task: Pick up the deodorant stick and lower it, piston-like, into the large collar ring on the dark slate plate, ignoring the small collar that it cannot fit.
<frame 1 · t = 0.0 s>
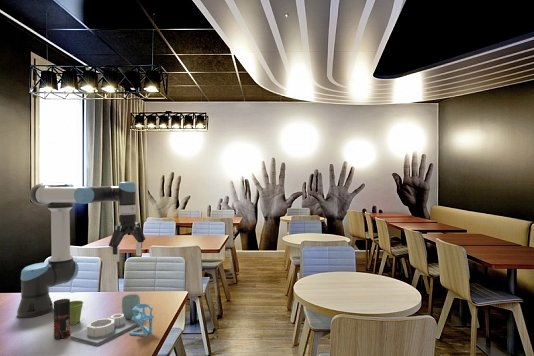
hand: (128, 258, 170), 28 cm above the table, fingers open, 13 cm apart
deodorant: (62, 337, 148), on the table
chair: (142, 333, 151), on the table
plant pot: (72, 323, 164), on the table
bore plate: (101, 334, 151), on the table
cup: (131, 318, 168), on the table
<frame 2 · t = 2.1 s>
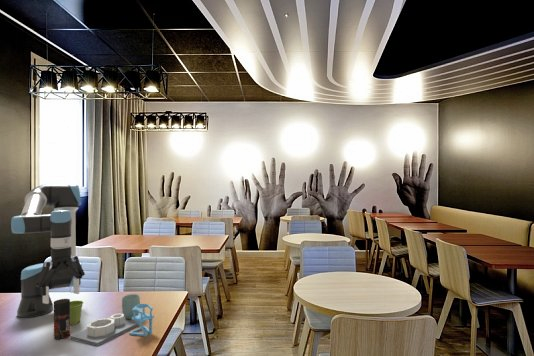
hand: (61, 298, 148), 16 cm above the table, fingers open, 13 cm apart
nothing on the table moved.
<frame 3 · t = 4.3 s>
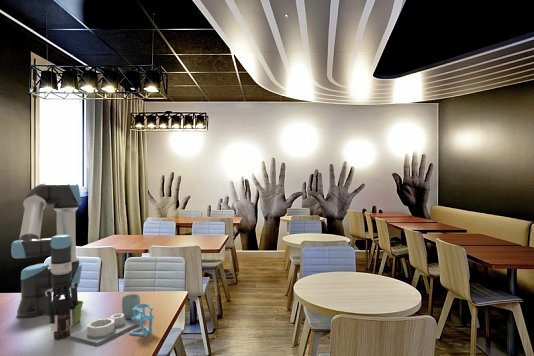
hand: (62, 327, 148), 4 cm above the table, fingers closed on deodorant, 6 cm apart
deodorant: (62, 337, 148), on the table, touching gripper
everything else where it was.
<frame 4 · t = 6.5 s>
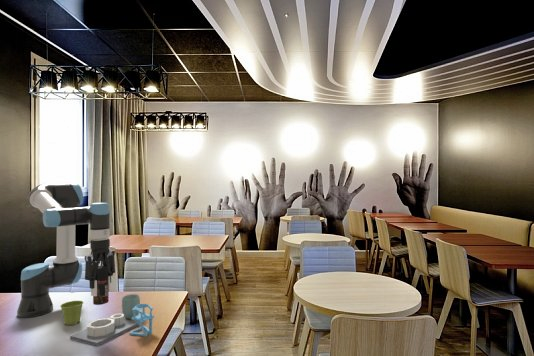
hand: (100, 293, 151), 17 cm above the table, fingers closed on deodorant, 6 cm apart
deodorant: (100, 302, 151), point 13 cm above the table, touching gripper
everything else where it was.
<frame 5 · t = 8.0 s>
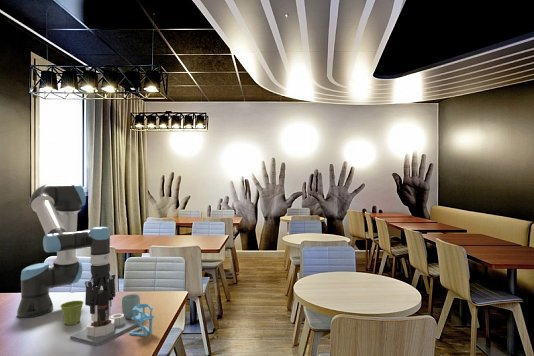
hand: (101, 317, 151), 7 cm above the table, fingers closed on deodorant, 6 cm apart
deodorant: (101, 327, 151), point 3 cm above the table, touching gripper
everything else where it was.
when the fingers open (7 cm above the table, at t = 8.7 s): deodorant drops 1 cm, resting on bore plate.
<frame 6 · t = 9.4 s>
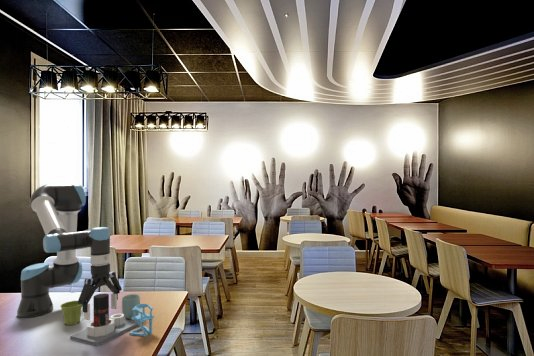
hand: (101, 313, 151), 9 cm above the table, fingers open, 13 cm apart
deodorant: (101, 331, 151), point 1 cm above the table, touching bore plate
everything else where it was.
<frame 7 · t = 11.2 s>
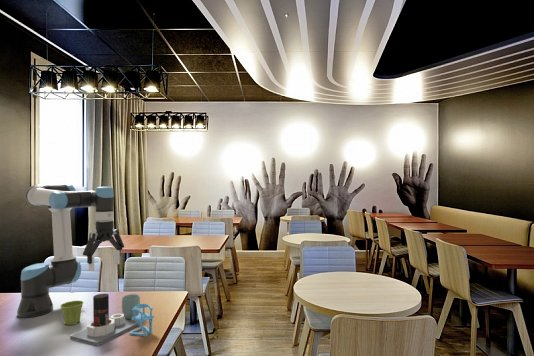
hand: (104, 267, 161), 26 cm above the table, fingers open, 13 cm apart
nothing on the table moved.
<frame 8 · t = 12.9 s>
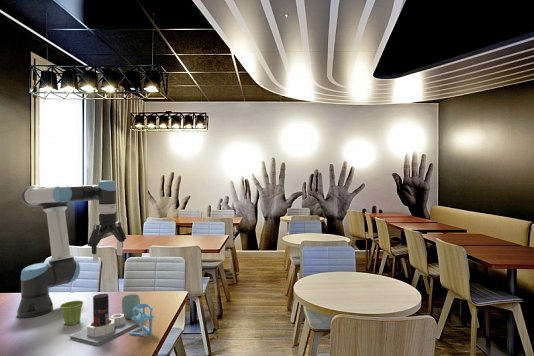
hand: (108, 258, 168), 29 cm above the table, fingers open, 13 cm apart
nothing on the table moved.
at the end: deodorant 0.0 cm off-centre on the bore plate, point 1.0 cm above the bore plate's base; deodorant tilted 0°; the gripper is holding nothing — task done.
